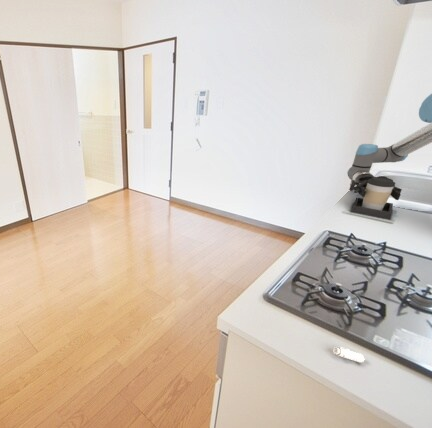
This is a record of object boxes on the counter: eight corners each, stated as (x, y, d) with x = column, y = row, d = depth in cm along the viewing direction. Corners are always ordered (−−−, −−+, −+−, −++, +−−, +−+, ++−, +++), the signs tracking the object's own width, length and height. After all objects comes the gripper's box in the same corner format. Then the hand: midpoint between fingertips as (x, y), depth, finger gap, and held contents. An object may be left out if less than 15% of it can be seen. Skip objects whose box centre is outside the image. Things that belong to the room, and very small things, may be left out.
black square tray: (390, 209, 127) (392, 203, 126) (389, 219, 119) (392, 213, 118) (354, 203, 136) (356, 197, 134) (350, 212, 127) (353, 205, 126)
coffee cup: (384, 215, 121) (397, 182, 115) (357, 210, 127) (368, 179, 121) (384, 208, 127) (397, 177, 121) (359, 204, 133) (369, 174, 127)
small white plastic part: (365, 373, 59) (370, 363, 58) (330, 357, 63) (334, 347, 62) (366, 361, 62) (371, 351, 60) (332, 346, 65) (336, 337, 64)
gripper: (392, 189, 135) (413, 206, 117) (333, 185, 144) (345, 200, 126) (398, 174, 132) (420, 190, 114) (337, 171, 141) (350, 185, 123)
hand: (380, 195), depth 120 cm, fingers open, 11 cm apart
